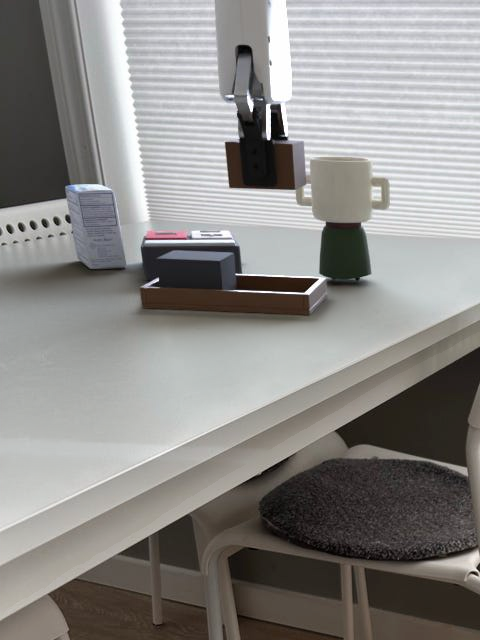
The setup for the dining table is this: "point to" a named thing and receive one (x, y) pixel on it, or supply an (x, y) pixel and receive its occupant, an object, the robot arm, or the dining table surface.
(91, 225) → the medicine box
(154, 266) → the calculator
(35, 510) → the dining table surface
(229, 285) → the pad
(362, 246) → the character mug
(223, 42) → the robot arm
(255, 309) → the tray
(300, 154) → the pad
